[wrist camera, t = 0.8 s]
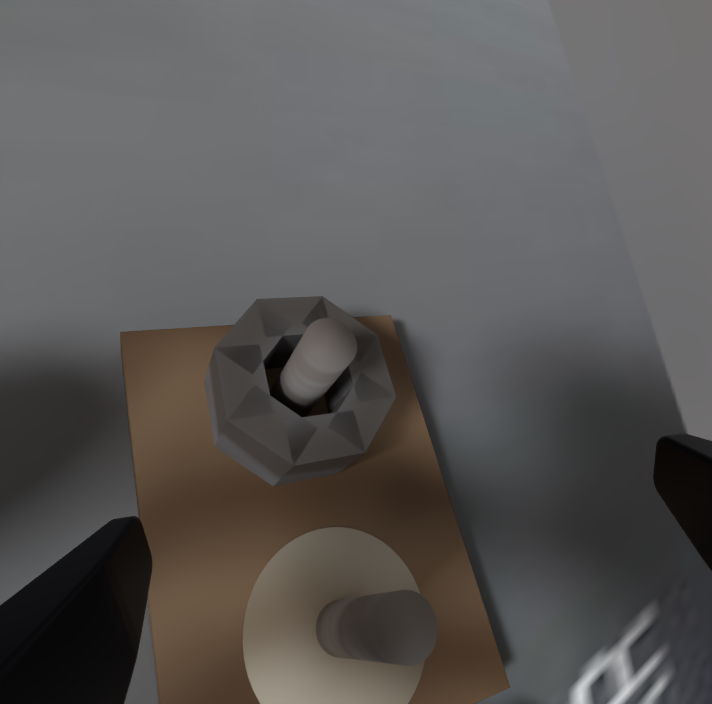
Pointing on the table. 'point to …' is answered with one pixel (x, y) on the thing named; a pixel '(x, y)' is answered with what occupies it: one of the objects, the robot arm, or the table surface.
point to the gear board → (298, 517)
